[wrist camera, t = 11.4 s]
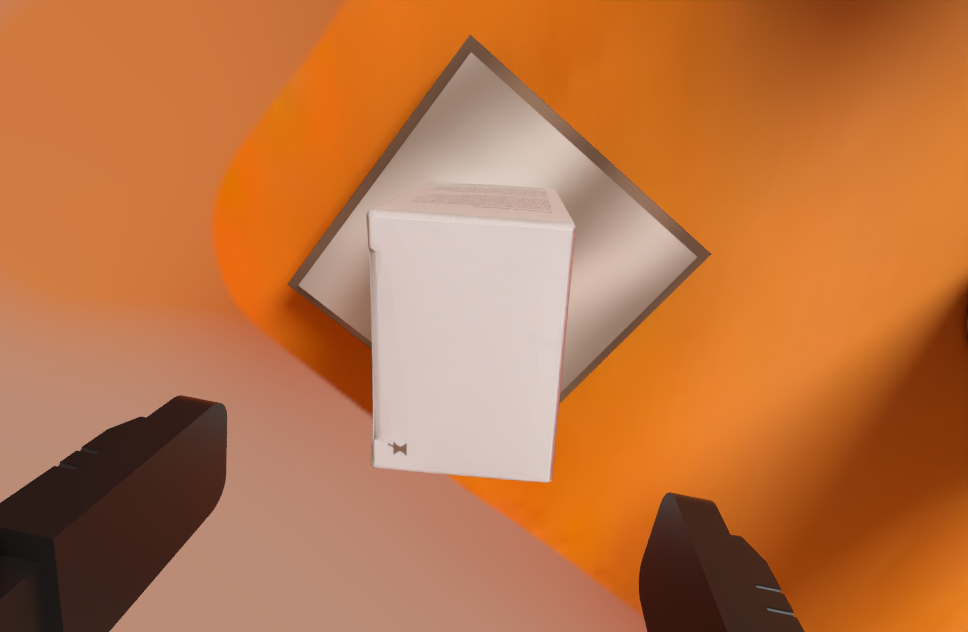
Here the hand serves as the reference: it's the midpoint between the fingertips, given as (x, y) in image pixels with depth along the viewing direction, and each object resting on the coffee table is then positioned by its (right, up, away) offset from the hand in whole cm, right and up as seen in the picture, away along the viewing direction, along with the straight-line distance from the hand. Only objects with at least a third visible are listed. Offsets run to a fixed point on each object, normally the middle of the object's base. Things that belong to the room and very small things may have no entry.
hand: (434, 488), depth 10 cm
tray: (+1, +6, +18) cm, 19 cm away
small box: (+1, +5, +15) cm, 16 cm away
